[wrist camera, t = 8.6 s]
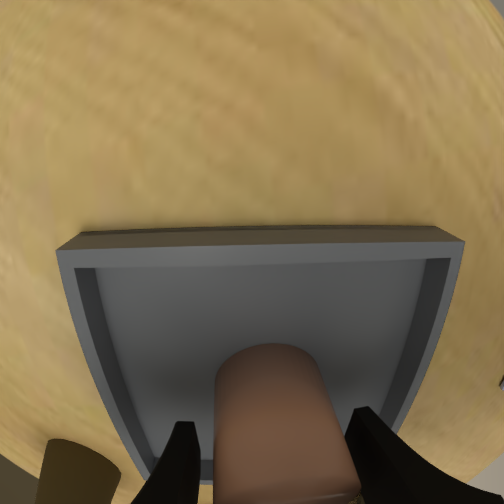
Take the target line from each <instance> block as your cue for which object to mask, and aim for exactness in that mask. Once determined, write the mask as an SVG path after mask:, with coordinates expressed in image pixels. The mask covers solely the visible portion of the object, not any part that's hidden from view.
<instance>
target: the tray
mask: <svg viewBox="0 0 504 504" xmlns="http://www.w3.org/2000/svg"><path fill="white" fill-rule="evenodd" d="M464 244H465V241H463V240H461V239H459V238H457V237H455V236H454V235H452V234H450V233H448V232H446V231H444V230H442V229H440V228H438V227H436V226H369V225H305V226H234V227H195V228H164V229H138V230H115V231H95V232H81V233H79V234H78V235H76V236H75V237H73V238H72V239H71V240H69V241H68V242H66V243H65V244H64V245H62V246H61V247H59V248H58V249H57V250H56V255H57V260H58V265H59V269H60V274H61V278H62V282H63V286H64V290H65V294H66V298H67V302H68V306H69V309H70V313H71V316H72V319H73V323H74V326H75V329H76V332H77V335H78V338H79V341H80V344H81V347H82V350H83V353H84V356H85V359H86V361H87V364H88V367H89V369H90V372H91V374H92V377H93V379H94V382H95V384H96V387H97V389H98V392H99V394H100V396H101V399H102V401H103V403H104V405H105V408H106V410H107V412H108V414H109V416H110V418H111V420H112V422H113V424H114V427H115V429H116V431H117V433H118V434H119V436H120V438H121V440H122V442H123V444H124V446H125V448H126V450H127V452H128V453H129V455H130V457H131V459H132V460H133V462H134V464H135V466H136V467H137V469H138V471H139V472H140V474H141V476H142V477H143V479H144V480H147V479H148V478H149V476H150V475H151V473H152V471H153V470H154V468H155V466H156V464H157V462H158V460H159V459H160V457H161V455H162V453H163V451H164V449H165V447H166V445H167V442H168V440H169V438H170V435H171V433H172V430H173V428H174V425H175V422H177V421H194V423H195V427H196V432H197V436H198V441H199V445H200V449H201V476H200V484H204V485H213V429H214V387H215V377H216V374H217V372H218V370H219V368H220V367H221V365H222V364H223V363H224V362H225V361H226V360H227V359H228V358H230V357H231V356H232V355H234V354H236V353H237V352H239V351H241V350H244V349H246V348H249V347H252V346H256V345H261V344H271V343H276V344H287V345H291V346H295V347H297V348H300V349H302V350H304V351H306V352H307V353H308V354H310V355H311V356H312V357H313V358H314V360H315V361H316V363H317V365H318V367H319V370H320V372H321V375H322V378H323V380H324V383H325V386H326V389H327V391H328V394H329V397H330V399H331V402H332V405H333V407H334V410H335V413H336V416H337V418H338V421H339V424H340V427H341V429H342V432H343V435H345V433H346V430H347V427H348V424H349V422H350V419H351V416H352V413H353V410H354V408H360V407H365V406H369V407H370V408H371V409H372V410H373V411H374V412H375V413H376V414H377V415H378V416H379V417H380V418H381V419H382V420H383V422H384V423H385V424H386V425H387V426H388V427H389V428H390V429H391V430H392V431H393V432H394V433H395V434H397V432H398V430H399V428H400V427H401V425H402V423H403V421H404V419H405V417H406V415H407V413H408V411H409V409H410V407H411V405H412V403H413V401H414V398H415V396H416V394H417V392H418V390H419V387H420V385H421V383H422V381H423V378H424V376H425V373H426V371H427V369H428V366H429V364H430V361H431V359H432V356H433V353H434V351H435V348H436V345H437V343H438V340H439V337H440V334H441V331H442V328H443V325H444V322H445V319H446V316H447V313H448V309H449V306H450V302H451V299H452V295H453V292H454V288H455V284H456V280H457V276H458V272H459V268H460V264H461V259H462V254H463V250H464Z"/></svg>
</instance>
